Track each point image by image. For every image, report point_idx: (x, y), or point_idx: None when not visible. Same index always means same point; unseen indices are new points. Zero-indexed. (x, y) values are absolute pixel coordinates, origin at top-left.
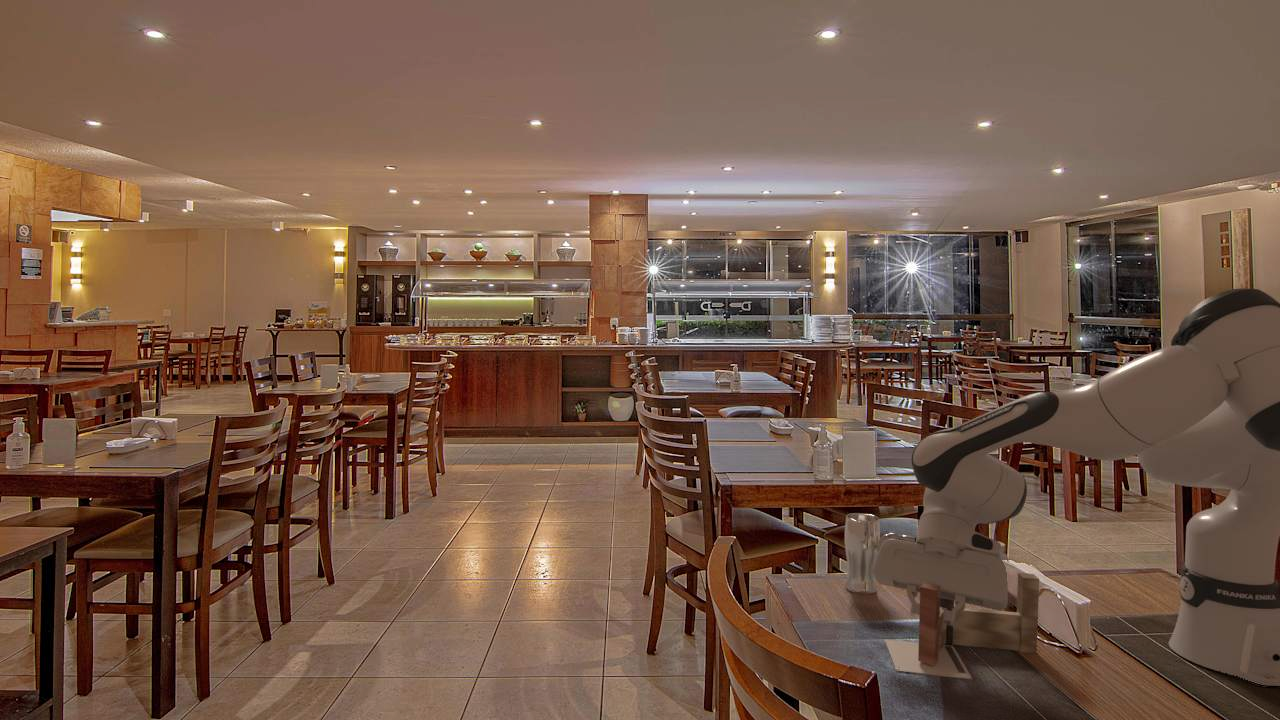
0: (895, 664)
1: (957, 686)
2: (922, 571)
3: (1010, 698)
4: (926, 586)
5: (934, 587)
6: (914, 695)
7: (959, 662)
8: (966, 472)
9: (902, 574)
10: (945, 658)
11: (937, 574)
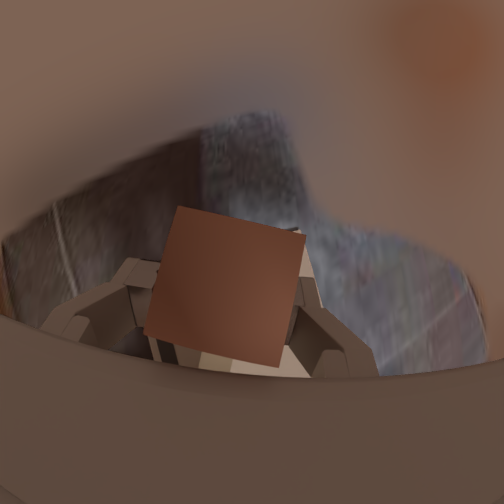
0: (305, 258)
1: (167, 222)
2: (318, 480)
3: (79, 221)
4: (258, 267)
5: (190, 273)
6: (253, 150)
7: (157, 341)
8: None
9: (443, 399)
10: (190, 352)
11: (162, 469)
